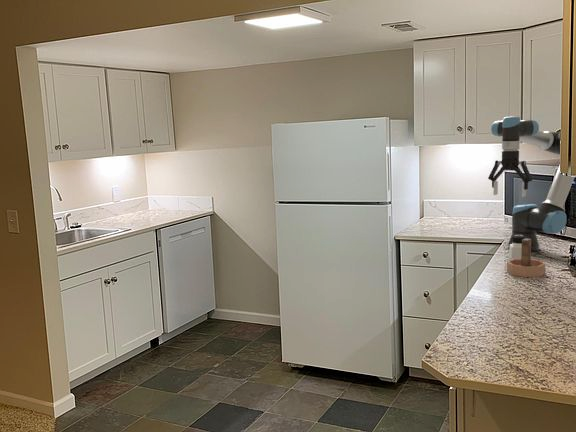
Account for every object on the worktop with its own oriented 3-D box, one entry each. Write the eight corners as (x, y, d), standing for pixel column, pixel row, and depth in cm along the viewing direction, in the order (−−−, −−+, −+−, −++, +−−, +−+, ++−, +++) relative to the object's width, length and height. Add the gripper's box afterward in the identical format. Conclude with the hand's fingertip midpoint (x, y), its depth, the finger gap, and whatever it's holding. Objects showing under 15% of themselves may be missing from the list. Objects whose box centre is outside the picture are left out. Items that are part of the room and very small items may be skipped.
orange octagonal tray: (516, 266, 273) (516, 257, 272) (548, 271, 262) (549, 261, 262) (502, 273, 262) (502, 263, 262) (535, 278, 252) (535, 268, 251)
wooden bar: (524, 268, 264) (525, 238, 262) (530, 269, 263) (531, 238, 260) (520, 270, 262) (521, 239, 259) (526, 271, 260) (527, 240, 258)
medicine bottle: (527, 261, 281) (528, 237, 279) (511, 261, 282) (512, 237, 280) (524, 258, 287) (525, 234, 286) (509, 258, 289) (509, 234, 287)
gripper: (481, 150, 281) (480, 194, 284) (534, 151, 263) (532, 198, 267) (488, 149, 286) (487, 192, 289) (540, 150, 269) (539, 196, 272)
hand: (509, 195), depth 278 cm, fingers open, 13 cm apart
